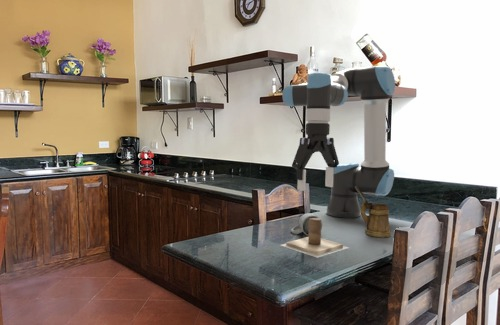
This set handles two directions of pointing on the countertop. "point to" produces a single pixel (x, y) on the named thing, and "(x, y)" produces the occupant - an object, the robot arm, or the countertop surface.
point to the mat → (313, 254)
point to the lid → (314, 240)
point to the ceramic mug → (304, 224)
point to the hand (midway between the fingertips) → (315, 188)
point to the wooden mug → (375, 218)
